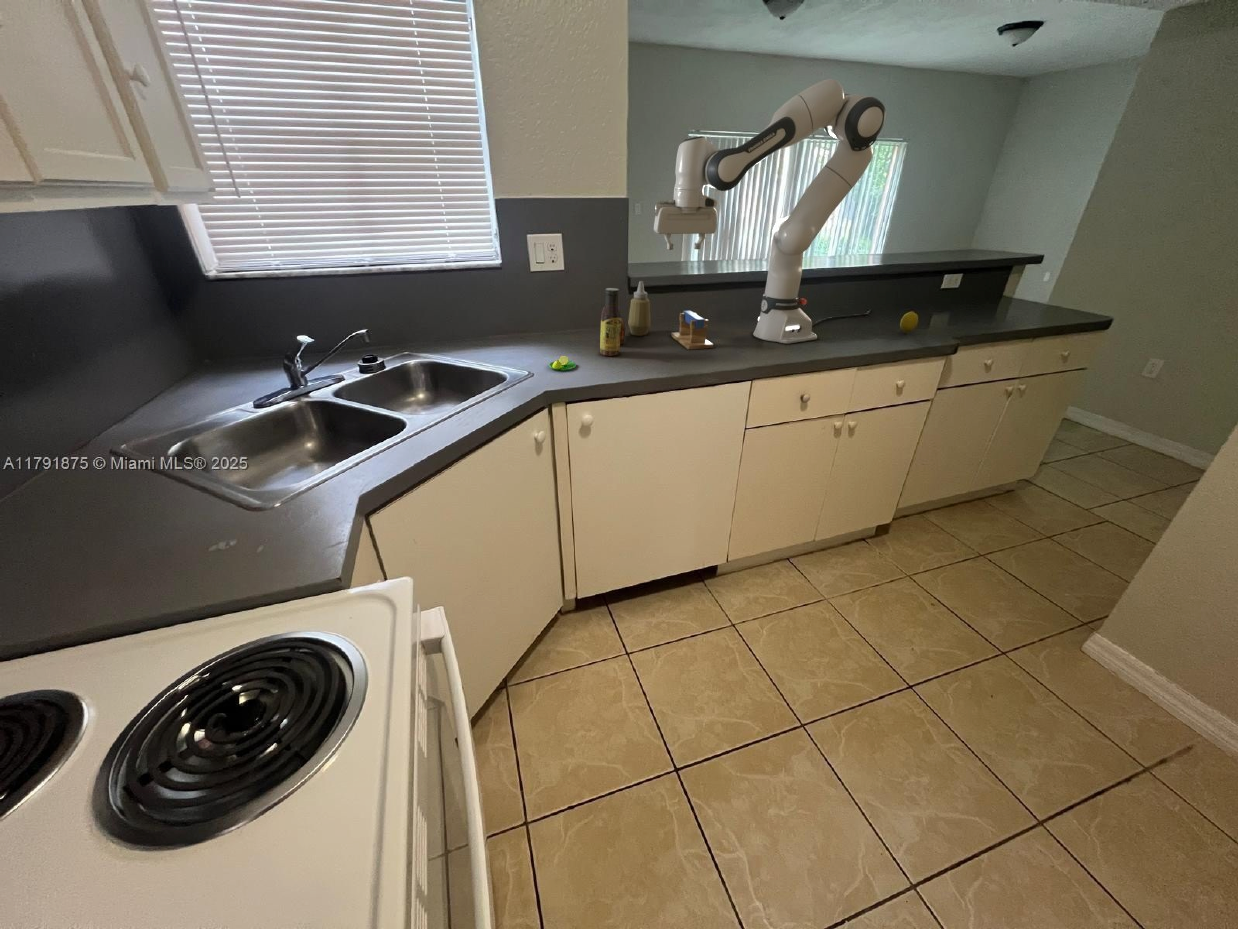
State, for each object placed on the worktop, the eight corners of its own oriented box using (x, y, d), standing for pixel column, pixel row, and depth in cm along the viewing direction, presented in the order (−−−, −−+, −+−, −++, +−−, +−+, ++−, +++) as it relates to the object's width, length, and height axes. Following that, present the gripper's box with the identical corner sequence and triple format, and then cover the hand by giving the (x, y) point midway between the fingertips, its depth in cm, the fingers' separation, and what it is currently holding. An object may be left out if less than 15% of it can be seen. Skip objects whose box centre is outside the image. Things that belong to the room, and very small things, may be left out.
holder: (671, 336, 174) (672, 311, 169) (694, 334, 176) (696, 310, 171) (688, 349, 160) (690, 323, 156) (713, 347, 163) (716, 321, 158)
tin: (603, 335, 172) (603, 311, 168) (612, 334, 173) (612, 310, 169) (617, 348, 160) (618, 322, 156) (626, 347, 161) (627, 321, 157)
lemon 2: (555, 361, 148) (555, 352, 146) (579, 364, 146) (579, 355, 144) (544, 369, 141) (543, 360, 140) (569, 373, 139) (569, 363, 138)
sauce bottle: (605, 358, 151) (605, 291, 141) (596, 352, 156) (596, 287, 146) (623, 355, 154) (625, 290, 144) (614, 349, 159) (615, 286, 148)
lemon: (914, 332, 184) (921, 310, 180) (913, 335, 180) (920, 313, 176) (898, 329, 187) (905, 308, 183) (896, 333, 183) (903, 311, 179)
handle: (703, 328, 160) (704, 319, 159) (696, 328, 160) (697, 319, 158) (689, 319, 170) (690, 310, 169) (682, 319, 170) (683, 310, 168)
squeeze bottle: (650, 331, 178) (653, 279, 169) (649, 337, 171) (652, 284, 162) (628, 330, 179) (630, 278, 170) (626, 336, 172) (628, 283, 163)
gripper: (659, 200, 143) (656, 251, 150) (722, 201, 148) (716, 250, 155) (652, 199, 149) (649, 248, 156) (713, 200, 153) (708, 247, 161)
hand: (683, 249), depth 156 cm, fingers open, 8 cm apart
